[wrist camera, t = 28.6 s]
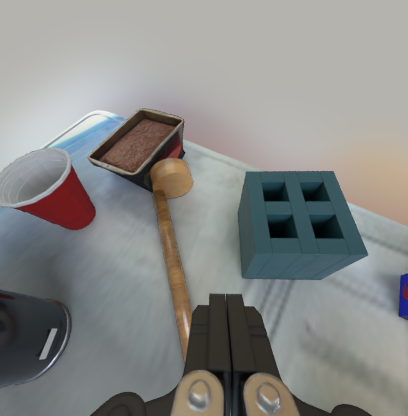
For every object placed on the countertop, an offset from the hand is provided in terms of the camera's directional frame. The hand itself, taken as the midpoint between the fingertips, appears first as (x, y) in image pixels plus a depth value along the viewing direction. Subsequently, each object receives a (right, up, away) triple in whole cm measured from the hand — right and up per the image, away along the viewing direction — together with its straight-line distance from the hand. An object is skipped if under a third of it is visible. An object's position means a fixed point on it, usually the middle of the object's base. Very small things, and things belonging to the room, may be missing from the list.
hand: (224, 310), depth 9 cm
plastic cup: (-24, +3, +28) cm, 37 cm away
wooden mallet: (+1, -16, +13) cm, 20 cm away
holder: (+11, -1, +23) cm, 26 cm away
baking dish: (-13, +14, +34) cm, 39 cm away
